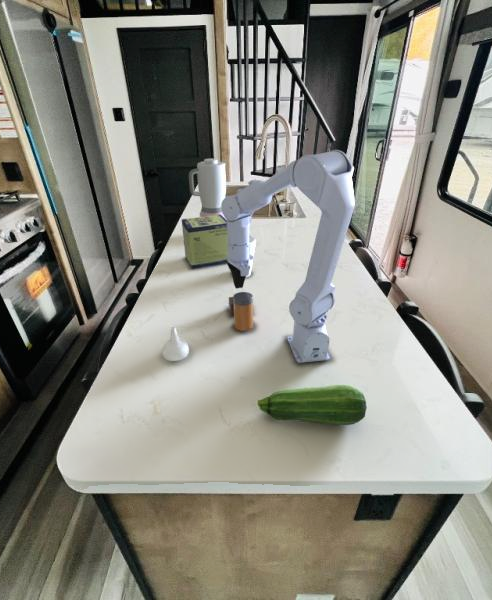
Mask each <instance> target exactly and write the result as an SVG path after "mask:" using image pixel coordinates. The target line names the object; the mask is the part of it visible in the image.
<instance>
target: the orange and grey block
mask: <svg viewBox="0 0 492 600" xmlns="http://www.w3.org/2000/svg"><path fill="white" fill-rule="evenodd" d="M232 297H233V301H234V316H233V319H234V320H233V321H234V328H235V330H238V331H242V332H245V331H250V330H252V329H253V328H254V298H253V297H254V295H253V294H252V293H251V292H248V291H239V292H236V293H234V294H233V296H232Z"/></svg>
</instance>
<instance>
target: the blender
mask: <svg viewBox="0 0 492 600" xmlns="http://www.w3.org/2000/svg"><path fill="white" fill-rule="evenodd" d="M226 165H227V163H226V162H223V161H219V160H218V159H217V158H204V160H203V161H200V162H198V163H197V164H196V168H193V169H191V170H190V171H189V173H188V184H189V193H190V194H191V195H192V196H194V197H199V200H200V203H201V208H200V211H199V217H204V216H212V215H219V214H221V215H222V216H223V217H224V215H223V213H222V210H221V204H222V201H223V199H224V198H225V197H226V195H227V194H226V193H227V176H226ZM194 175H197V188H198V191H196V190H195V181H194ZM224 218H225V217H224ZM225 219H226V218H225ZM226 220H227V219H226Z"/></svg>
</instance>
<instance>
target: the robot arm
mask: <svg viewBox="0 0 492 600" xmlns="http://www.w3.org/2000/svg"><path fill="white" fill-rule="evenodd" d="M354 170H355V166H354V165H353V163H352V161H351V160H350V159H349V157H348V155H347V154H346V153H345V152H344V151H342V150H339V149H332V150H329V151H326V152H321V153H316V154H305V155H303V156H301V157H300V158H298V159H296V160H292V161H290V163H289V164H287V165H286V166H285V167H283V168H282V169H280V170H279V171H277V172H276V173H275V174H273V175H272V176H270V177H269V178H268V179H266V180H265V181H264V180H262V179H255V178H254V179H251V180H249V181H248V185H247V186H245V187H244V188H239V189H238V190H236V193H235V194H234V195H225V198H224V199H223V201H222V204H221V210H222V213H223V215H224V217H225V218H226V219H227V246H228V256H227V261H228V263H226V265H227V267H228V269H229V271H230V274H231V278H232V282H233V286H234V288H235V289H243V287H244V286H245V285H244V284H245V281H246V278H247V277H246V276H248V275H249V270H250V266H249V261H250V260H252V259H253V260H254V256H253V255H251V254H249V235H250V224H251V222H252V217H253V215H254V213H255V212H256V211H258V210H261V209H262V208H264V207H266V206H268V205H269V204H270V203H271V202H272V199H273V196H274V195H276V194H278V193H280V192H282V191H284V190H286V189H288V188H290V187H291V188H298V190H299V191H300V192H301V193H302V194H303V195H304V196H305V197H307V199H309V200H310V202H312V203H313V204H314V205H315V206H316V207H317V208H319V210H320V211H321V214H320V218H319V222H318V227H317V230H316V235H315V239H314V243H313V247H312V251H311V254H310V255H311V256H310V260H309V263H308V268H307V271H306V275H305V279H304V281H303V283H302V284H301V286H300V287H299V288H298V290H297V291H296V293H295V297H294V298H293V299H292V300H291V302H290V303H289V306H288V308H289V314H290V316H291V318H292V320H293V321H294V322H293V329H292V330H293V331H292V335H289V336H287V337H286V339H287V342H288V344H289V347H290V349H291V351H292V354H293V356H294V358H295V360H296V363H298V364H303V363H312V362H319V361H320V362H321V361H329V360H330V359H331V356H330V354H329V353H328V352H329V346H330V336H329V333H328V332H327V327H326V325H327V319H328V318H327V317H328V316H327V315H328V314H329V313H328V312H329V311H330V310H332V309H333V307H334V306H335V302H336V299H335V290H336V286H335V285H334V284H333V283H332V281H333V278H334V275H335V271H336V269H337V265H338V262H339V260H340V259H339V258H340V256H341V252H342V249H343V245H344V243H345V239H346V236H347V233H348V229H349V226H350V223H351V219H352V217H353V213H354V211H355V204H356V202H355V195H354V193H355V192H354V187H353V186H354V185H353V178H352V177H353V174H354ZM248 277H249V276H248Z"/></svg>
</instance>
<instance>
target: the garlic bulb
mask: <svg viewBox="0 0 492 600" xmlns="http://www.w3.org/2000/svg"><path fill="white" fill-rule="evenodd" d="M169 328H170V333H169V334H170V336H169V337H170V338H169V339H168V340H167V341H165V343H163V345H162V348H161V354H162V356H163V358H164V359H165V360H166V361H170V362H179V361H181V360H184V359H185V358H186V357H188V355H189V352H190V347H189V343H188V342H187V341H186V340H184V339H183V338H179V335H178V332H177V329H176V326H175V325H171V326H170V327H169Z"/></svg>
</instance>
